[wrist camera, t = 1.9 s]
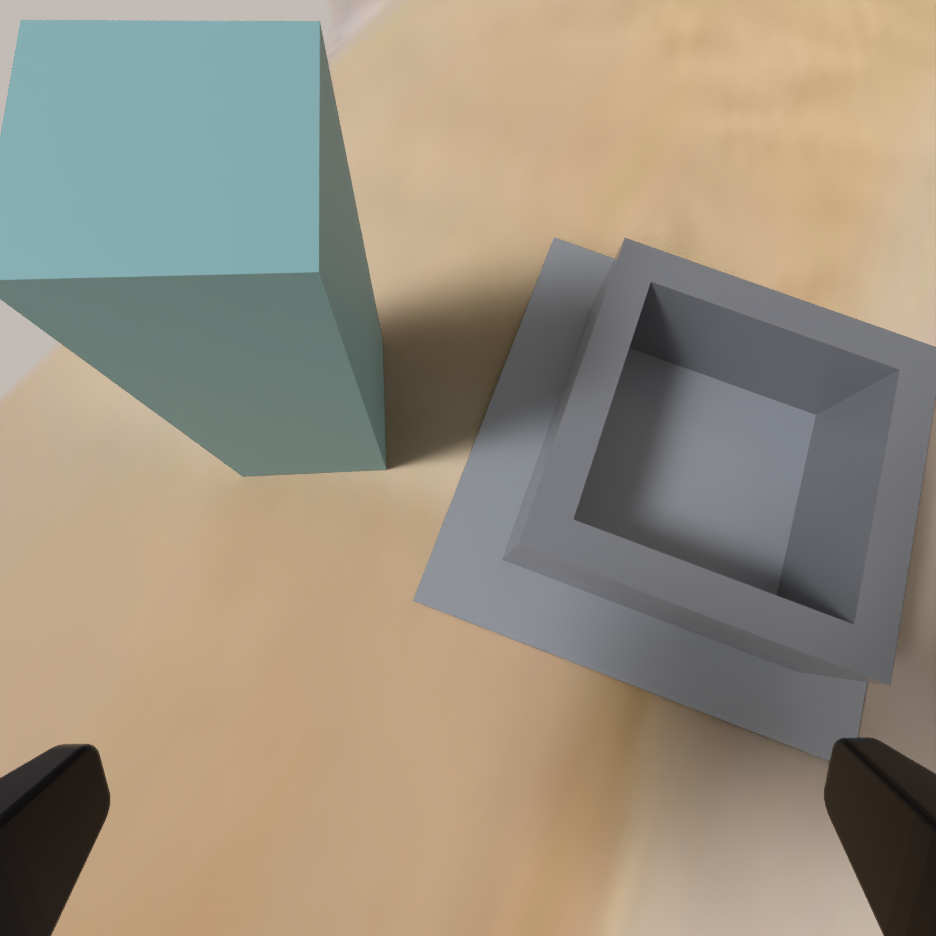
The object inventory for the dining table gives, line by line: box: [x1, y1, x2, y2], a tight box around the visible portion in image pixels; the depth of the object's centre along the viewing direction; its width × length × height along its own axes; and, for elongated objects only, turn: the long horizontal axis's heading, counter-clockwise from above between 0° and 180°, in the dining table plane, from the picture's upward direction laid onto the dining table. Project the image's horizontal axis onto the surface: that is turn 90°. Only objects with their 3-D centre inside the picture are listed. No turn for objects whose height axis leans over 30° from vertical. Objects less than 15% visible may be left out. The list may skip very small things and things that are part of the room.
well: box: [413, 238, 936, 761], centre depth 19 cm, size 15×15×4 cm
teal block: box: [0, 20, 386, 477], centre depth 15 cm, size 5×5×12 cm
